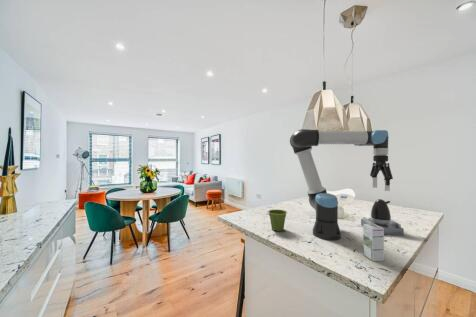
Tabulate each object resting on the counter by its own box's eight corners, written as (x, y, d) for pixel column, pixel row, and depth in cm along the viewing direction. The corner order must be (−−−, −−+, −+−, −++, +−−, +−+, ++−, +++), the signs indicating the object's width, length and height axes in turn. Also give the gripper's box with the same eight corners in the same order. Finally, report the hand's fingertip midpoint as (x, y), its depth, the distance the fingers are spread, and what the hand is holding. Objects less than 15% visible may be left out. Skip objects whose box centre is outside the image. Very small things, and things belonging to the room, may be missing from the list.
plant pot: (285, 226, 129) (285, 209, 129) (288, 233, 117) (288, 214, 117) (267, 226, 130) (267, 208, 130) (268, 232, 118) (268, 214, 118)
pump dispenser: (394, 226, 117) (394, 201, 117) (375, 225, 119) (375, 200, 119) (385, 221, 127) (385, 198, 127) (367, 220, 129) (367, 197, 129)
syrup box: (384, 261, 85) (384, 227, 85) (372, 261, 85) (372, 228, 85) (374, 254, 91) (374, 223, 91) (362, 255, 91) (362, 223, 91)
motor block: (373, 233, 116) (373, 224, 116) (358, 223, 136) (358, 214, 136) (403, 235, 114) (403, 225, 114) (383, 224, 134) (383, 215, 134)
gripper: (400, 154, 110) (400, 192, 110) (376, 155, 135) (376, 186, 135) (385, 154, 111) (385, 192, 111) (364, 155, 136) (364, 186, 136)
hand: (380, 189), depth 123 cm, fingers open, 13 cm apart
